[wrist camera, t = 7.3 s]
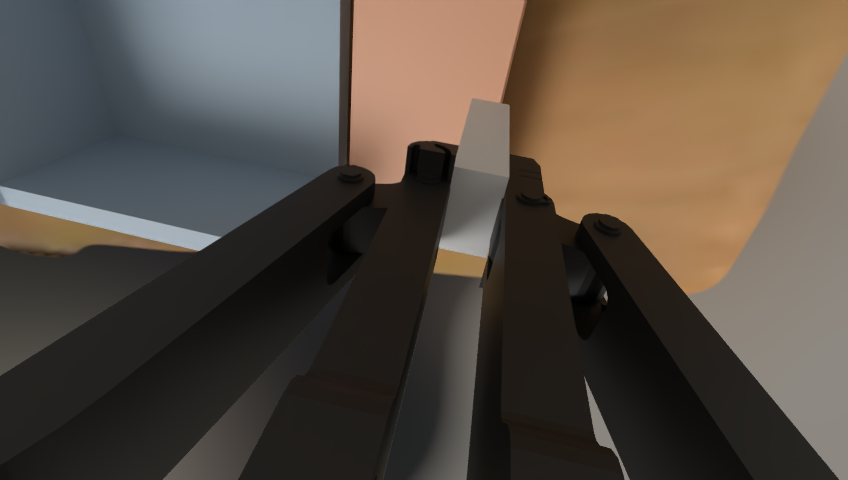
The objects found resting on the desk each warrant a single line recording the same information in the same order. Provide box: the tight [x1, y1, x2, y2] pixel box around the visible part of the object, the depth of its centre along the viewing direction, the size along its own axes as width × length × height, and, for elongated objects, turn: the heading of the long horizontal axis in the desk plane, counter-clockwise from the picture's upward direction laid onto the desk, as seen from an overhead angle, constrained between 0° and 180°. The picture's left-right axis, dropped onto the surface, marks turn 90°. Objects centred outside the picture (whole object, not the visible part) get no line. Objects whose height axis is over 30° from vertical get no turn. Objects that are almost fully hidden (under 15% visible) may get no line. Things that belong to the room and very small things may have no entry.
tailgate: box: [349, 0, 527, 184], centre depth 21 cm, size 2×14×8 cm
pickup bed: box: [0, 0, 351, 251], centre depth 19 cm, size 21×19×11 cm
